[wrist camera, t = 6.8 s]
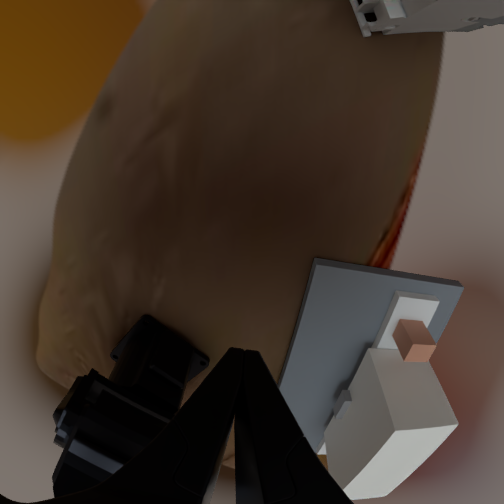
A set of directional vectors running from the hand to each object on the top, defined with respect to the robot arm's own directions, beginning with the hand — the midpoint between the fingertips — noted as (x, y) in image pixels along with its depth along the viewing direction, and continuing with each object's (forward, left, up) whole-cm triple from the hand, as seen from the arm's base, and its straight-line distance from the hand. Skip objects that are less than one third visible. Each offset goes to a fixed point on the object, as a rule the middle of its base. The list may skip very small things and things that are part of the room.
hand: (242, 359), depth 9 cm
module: (-4, -17, -11) cm, 21 cm away
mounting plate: (-5, -16, -12) cm, 20 cm away
